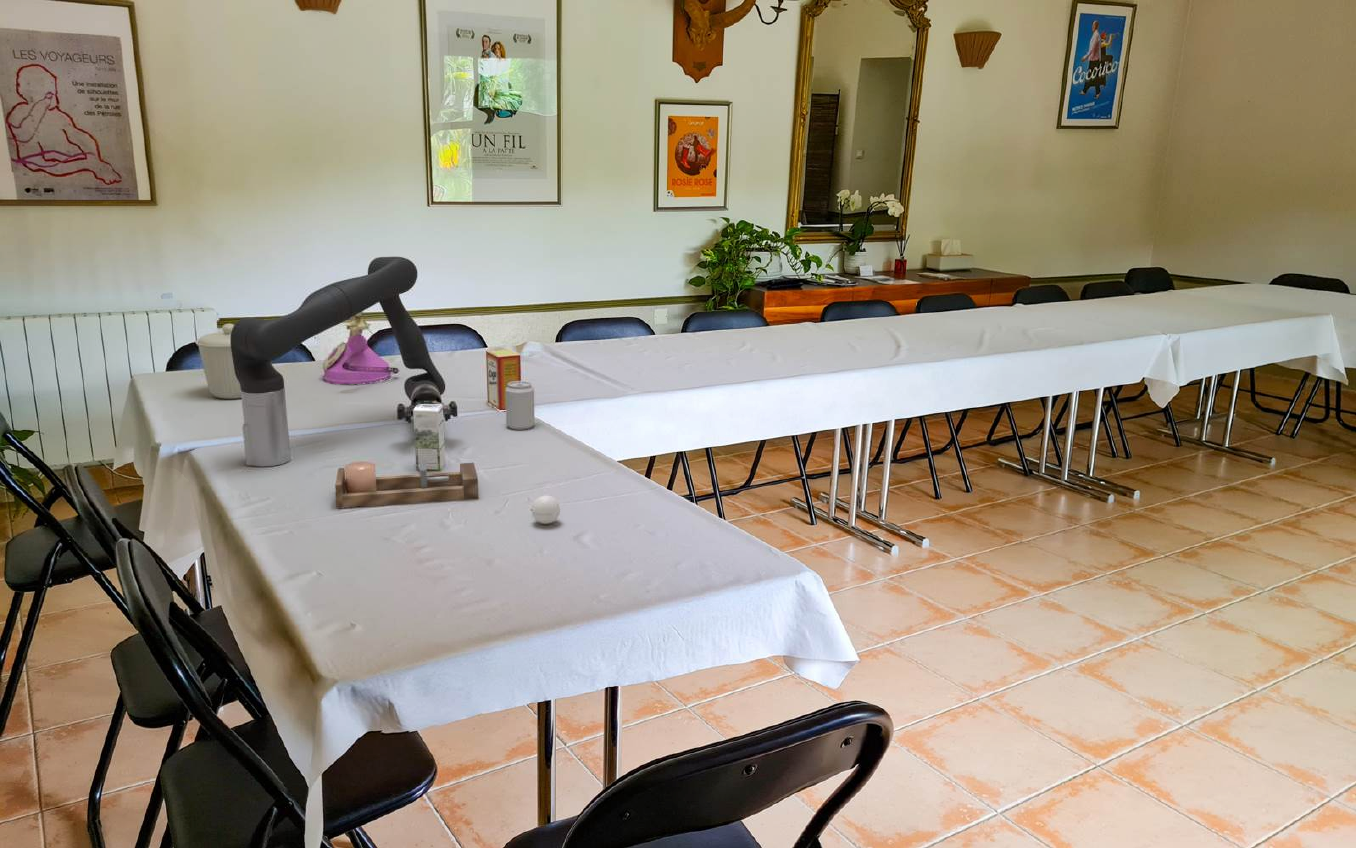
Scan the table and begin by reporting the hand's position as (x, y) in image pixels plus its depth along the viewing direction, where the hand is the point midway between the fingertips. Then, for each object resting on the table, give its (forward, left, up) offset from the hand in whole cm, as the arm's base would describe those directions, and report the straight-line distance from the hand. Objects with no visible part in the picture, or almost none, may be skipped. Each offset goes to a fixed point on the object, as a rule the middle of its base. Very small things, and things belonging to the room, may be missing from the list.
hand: (428, 418), depth 232 cm
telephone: (-18, +81, -9) cm, 83 cm away
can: (+24, +19, -9) cm, 32 cm away
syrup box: (0, -11, -9) cm, 14 cm away
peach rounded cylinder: (-15, -29, -9) cm, 34 cm away
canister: (-53, +69, -9) cm, 87 cm away
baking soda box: (+22, +41, -9) cm, 47 cm away
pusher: (0, -29, -8) cm, 30 cm away
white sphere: (+20, -52, -9) cm, 57 cm away
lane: (-6, -29, -9) cm, 31 cm away
